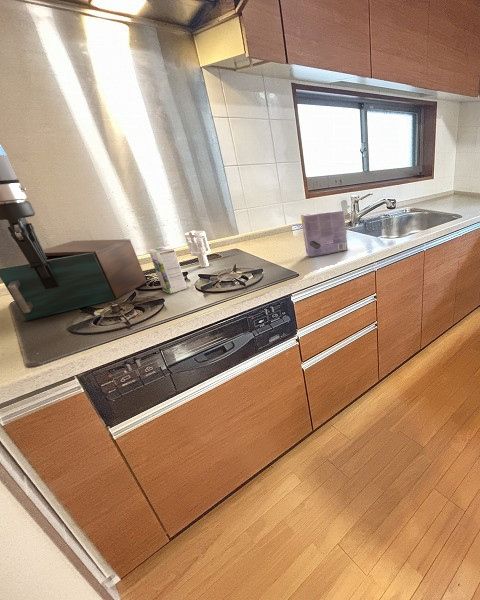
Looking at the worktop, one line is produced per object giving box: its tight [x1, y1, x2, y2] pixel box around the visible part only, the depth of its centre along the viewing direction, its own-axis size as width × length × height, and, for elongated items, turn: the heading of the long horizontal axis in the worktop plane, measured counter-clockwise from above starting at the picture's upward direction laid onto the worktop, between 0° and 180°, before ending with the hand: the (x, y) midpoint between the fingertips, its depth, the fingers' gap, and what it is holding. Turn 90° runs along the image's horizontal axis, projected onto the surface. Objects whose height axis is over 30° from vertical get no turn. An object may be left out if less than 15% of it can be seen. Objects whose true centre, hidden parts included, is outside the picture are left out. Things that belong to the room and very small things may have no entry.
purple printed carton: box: [300, 210, 349, 258], centre depth 141 cm, size 19×5×18 cm, turn 123°
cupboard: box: [43, 238, 148, 299], centre depth 109 cm, size 14×20×16 cm
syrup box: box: [148, 245, 188, 295], centre depth 108 cm, size 6×6×14 cm
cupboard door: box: [0, 252, 115, 322], centre depth 94 cm, size 6×20×16 cm, turn 132°
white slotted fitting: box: [183, 230, 211, 268], centre depth 129 cm, size 7×7×15 cm
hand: (52, 287), depth 92 cm, fingers closed
